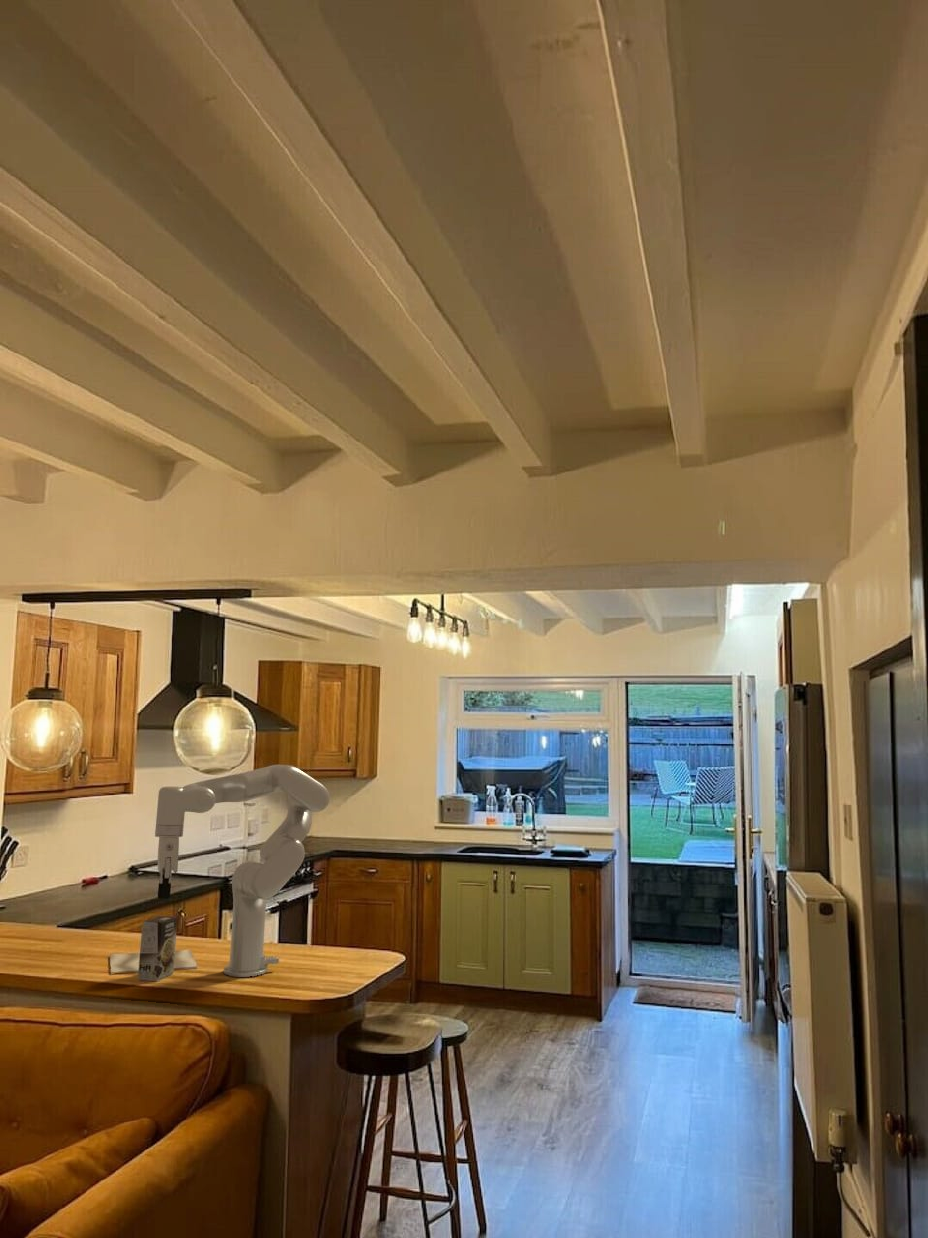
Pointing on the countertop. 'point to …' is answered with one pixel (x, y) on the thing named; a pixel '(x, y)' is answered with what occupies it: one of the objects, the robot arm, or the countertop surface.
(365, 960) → the countertop surface
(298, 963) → the countertop surface
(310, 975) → the countertop surface
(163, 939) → the coffee box
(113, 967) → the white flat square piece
